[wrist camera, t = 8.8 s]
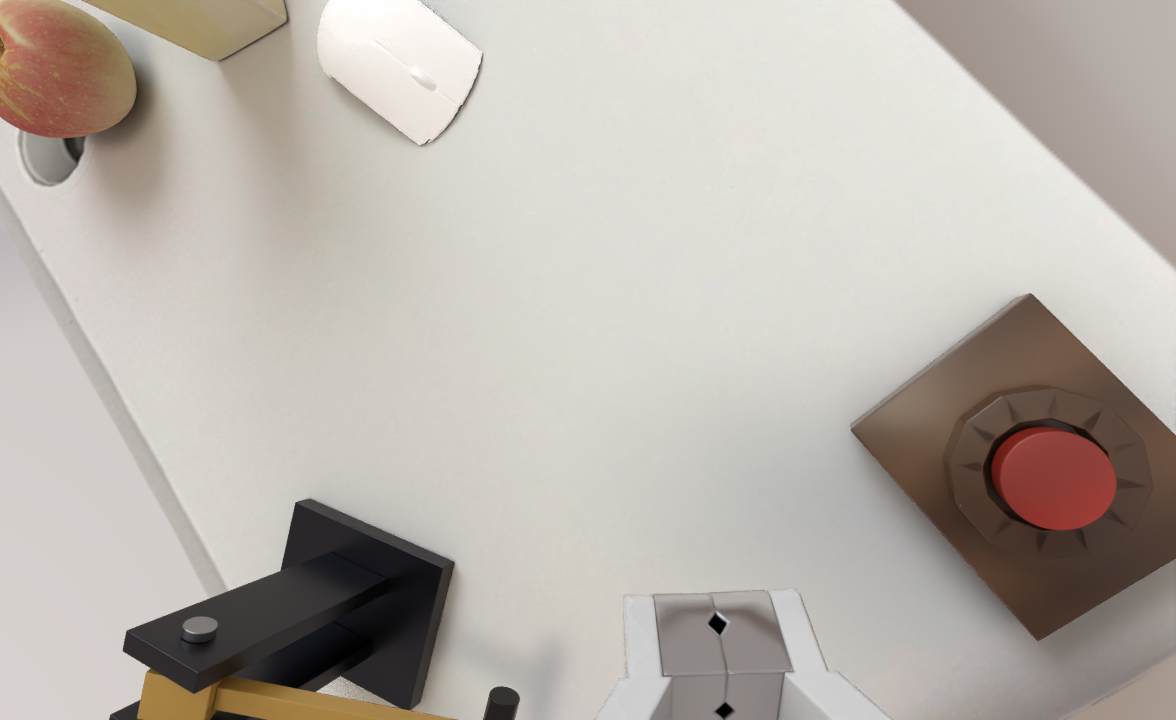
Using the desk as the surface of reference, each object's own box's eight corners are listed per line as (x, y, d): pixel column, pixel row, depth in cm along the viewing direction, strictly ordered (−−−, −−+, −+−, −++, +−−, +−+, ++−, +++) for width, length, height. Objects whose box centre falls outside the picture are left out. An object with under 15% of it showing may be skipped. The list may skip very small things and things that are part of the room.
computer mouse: (429, 156, 40) (405, 145, 38) (303, 52, 43) (274, 35, 41) (494, 55, 39) (473, 37, 36) (358, -46, 42) (332, -68, 40)
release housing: (1223, 499, 27) (1283, 523, 24) (1024, 622, 30) (1050, 660, 26) (1017, 296, 30) (1042, 288, 26) (849, 425, 32) (850, 434, 29)
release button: (1123, 482, 26) (1142, 491, 24) (1037, 538, 27) (1050, 550, 25) (1050, 407, 26) (1064, 411, 25) (969, 464, 27) (977, 471, 26)
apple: (164, 140, 48) (37, 101, 40) (77, 163, 51) (-55, 130, 43) (155, 16, 48) (27, -46, 40) (70, 47, 51) (-64, -6, 43)
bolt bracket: (454, 561, 40) (268, 661, 27) (420, 703, 41) (223, 865, 28) (309, 498, 44) (83, 559, 31) (280, 629, 44) (49, 741, 32)
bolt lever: (520, 683, 33) (519, 714, 31) (496, 776, 34) (493, 814, 31) (180, 615, 32) (151, 642, 29) (160, 713, 32) (130, 748, 30)
